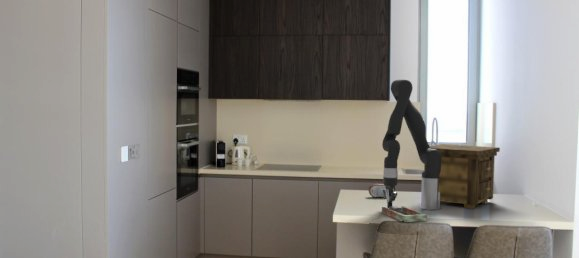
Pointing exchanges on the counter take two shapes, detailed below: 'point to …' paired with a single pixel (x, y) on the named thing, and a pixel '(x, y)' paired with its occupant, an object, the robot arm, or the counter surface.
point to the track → (411, 216)
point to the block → (396, 209)
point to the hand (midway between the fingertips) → (389, 208)
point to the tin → (377, 190)
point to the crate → (466, 173)
